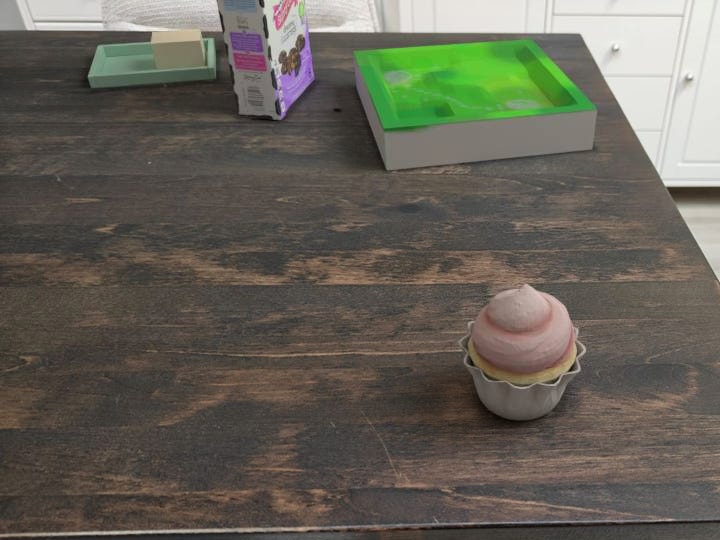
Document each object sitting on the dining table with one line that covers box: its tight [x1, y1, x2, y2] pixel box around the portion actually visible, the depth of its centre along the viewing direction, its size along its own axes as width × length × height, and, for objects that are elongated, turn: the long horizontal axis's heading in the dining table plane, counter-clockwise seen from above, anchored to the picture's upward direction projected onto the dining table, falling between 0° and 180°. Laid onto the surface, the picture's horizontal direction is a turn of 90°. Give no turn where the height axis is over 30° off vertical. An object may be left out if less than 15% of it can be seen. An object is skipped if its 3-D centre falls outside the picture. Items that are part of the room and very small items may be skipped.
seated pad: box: [150, 28, 206, 70], centre depth 105 cm, size 6×5×4 cm
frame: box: [87, 37, 217, 89], centre depth 105 cm, size 16×13×2 cm
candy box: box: [216, 0, 316, 121], centre depth 94 cm, size 14×6×16 cm, turn 171°
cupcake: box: [457, 283, 587, 421], centre depth 54 cm, size 9×9×10 cm
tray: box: [352, 38, 598, 171], centre depth 94 cm, size 25×25×5 cm
